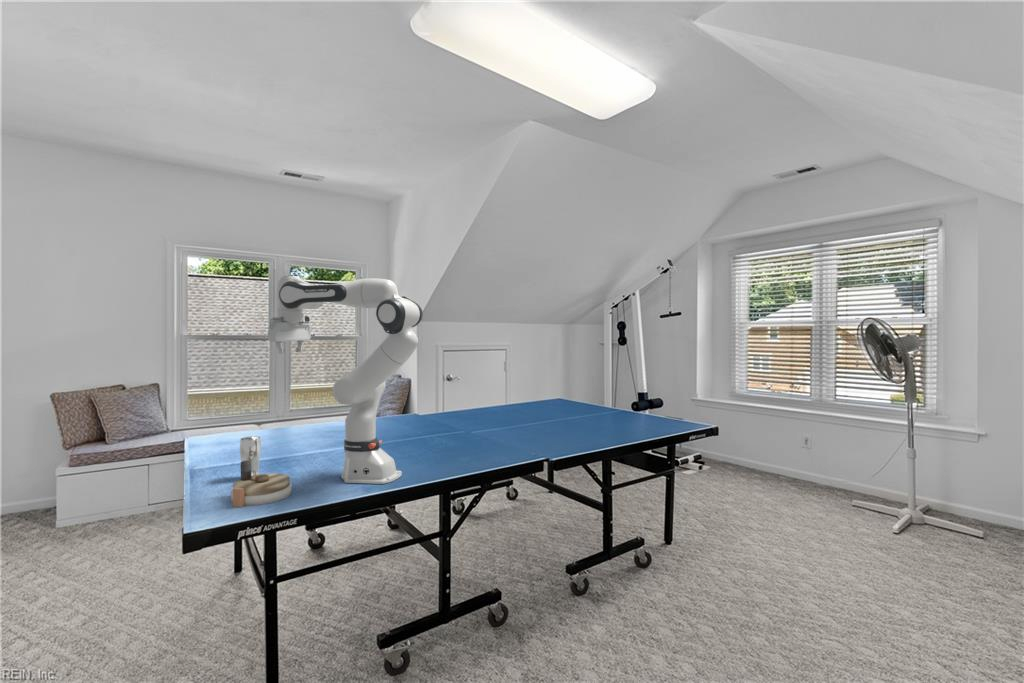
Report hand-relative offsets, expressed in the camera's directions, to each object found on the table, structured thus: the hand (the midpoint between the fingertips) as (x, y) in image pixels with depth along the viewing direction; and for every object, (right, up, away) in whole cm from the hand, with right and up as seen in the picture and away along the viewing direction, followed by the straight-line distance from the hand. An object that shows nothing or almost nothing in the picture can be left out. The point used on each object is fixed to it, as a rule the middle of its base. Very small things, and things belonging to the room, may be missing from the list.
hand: (290, 352), depth 195 cm
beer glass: (-11, -47, -9) cm, 49 cm away
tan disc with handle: (+3, -44, -29) cm, 53 cm away
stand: (+3, -47, -28) cm, 55 cm away
